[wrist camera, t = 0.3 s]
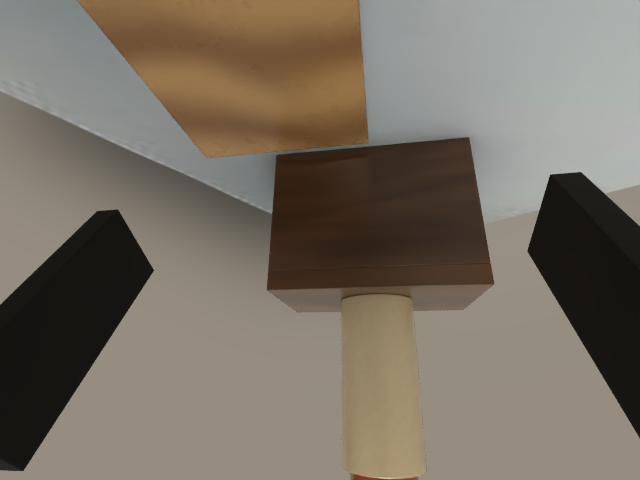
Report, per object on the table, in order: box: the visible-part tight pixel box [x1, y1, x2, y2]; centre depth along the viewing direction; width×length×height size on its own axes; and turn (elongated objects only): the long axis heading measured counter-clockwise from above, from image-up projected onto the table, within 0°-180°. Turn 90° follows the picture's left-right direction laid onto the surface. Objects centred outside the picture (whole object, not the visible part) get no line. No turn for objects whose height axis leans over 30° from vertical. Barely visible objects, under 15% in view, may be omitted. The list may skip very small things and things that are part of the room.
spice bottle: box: [340, 294, 427, 480], centre depth 27 cm, size 6×6×14 cm
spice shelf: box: [267, 138, 494, 312], centre depth 31 cm, size 10×16×12 cm, turn 100°
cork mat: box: [77, 0, 368, 158], centre depth 20 cm, size 20×14×1 cm
